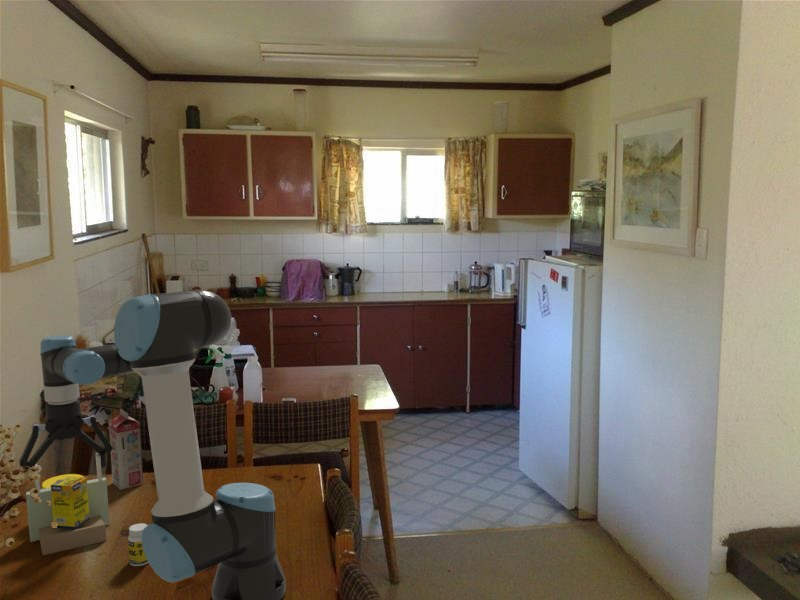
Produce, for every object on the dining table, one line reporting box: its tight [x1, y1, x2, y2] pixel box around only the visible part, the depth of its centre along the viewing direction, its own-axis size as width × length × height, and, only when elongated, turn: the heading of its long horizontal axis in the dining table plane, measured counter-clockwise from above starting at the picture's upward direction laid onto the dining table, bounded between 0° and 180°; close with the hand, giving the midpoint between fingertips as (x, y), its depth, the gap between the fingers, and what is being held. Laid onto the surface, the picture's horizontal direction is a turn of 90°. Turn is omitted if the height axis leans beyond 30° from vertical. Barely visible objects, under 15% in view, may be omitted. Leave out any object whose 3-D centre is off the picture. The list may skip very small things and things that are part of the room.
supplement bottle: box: [127, 523, 149, 567], centre depth 161 cm, size 5×5×8 cm
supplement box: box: [51, 476, 89, 529], centre depth 171 cm, size 6×6×11 cm
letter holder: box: [25, 476, 111, 556], centre depth 172 cm, size 11×18×12 cm, turn 121°
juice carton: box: [108, 408, 144, 491], centre depth 205 cm, size 7×7×22 cm
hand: (69, 486), depth 170 cm, fingers open, 13 cm apart
